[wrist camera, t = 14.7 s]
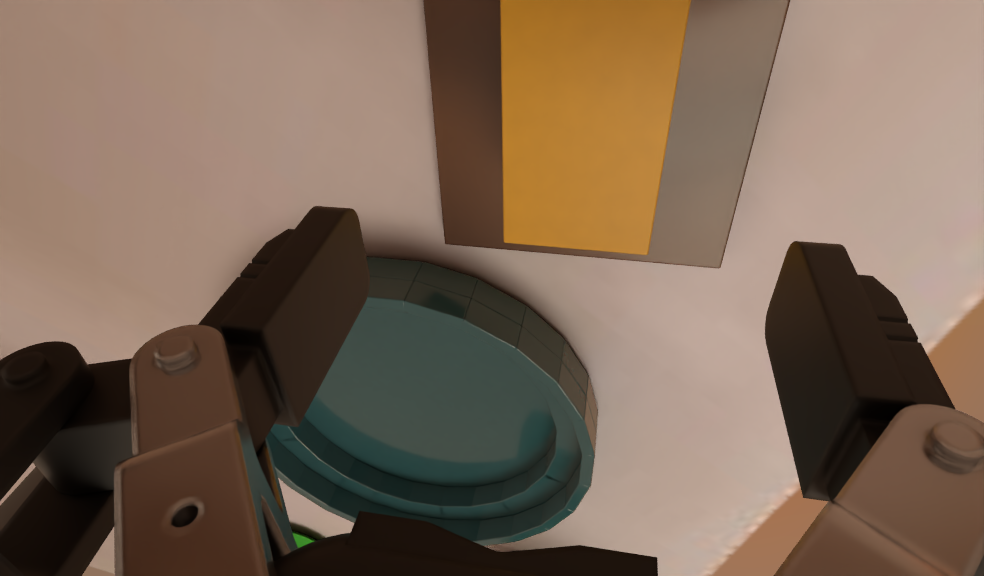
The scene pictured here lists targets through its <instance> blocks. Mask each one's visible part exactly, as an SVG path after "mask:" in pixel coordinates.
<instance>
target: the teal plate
mask: <svg viewBox="0 0 984 576" xmlns="http://www.w3.org/2000/svg"><path fill="white" fill-rule="evenodd" d="M366 258H367V263H368V268H369V275H370V285H369V292H368V296H367V299H366V302H365V304H364V306H363V308H362V310H361V311H360V313H359V315H358V317H357V319H356V321H355V323H354V324H353V326H352V328H351V330H350V332H349V334H348V336H347V337H346V339H345V341H344V343H343V345H342V347H341V349H340V350H339V352H338V354H337V356H336V358H335V360H334V362H333V363H332V365H331V367H330V369H329V371H328V373H327V375H326V377H325V378H324V380H323V382H322V384H321V386H320V388H319V390H318V391H317V393H316V395H315V397H314V399H313V401H312V403H311V404H310V406H309V408H308V410H307V412H306V414H305V416H304V417H303V419H302V421H301V423H300V425H299V427H293V426H286V425H279V424H274V425H273V427H272V428H271V430H270V432H269V434H268V435H267V437H266V438H267V441H268V443H269V445H270V449H271V453H272V457H273V460H274V464H275V468H276V472H277V476H278V478H279V479H281V480H282V481H283V482H284V483H285V484H286V485H287V486H289V487H290V488H291V489H293V490H295V491H296V492H298V493H299V494H301V495H303V496H304V497H306V498H307V499H309V500H311V501H312V502H314V503H315V504H317V505H318V506H320V507H322V508H323V509H325V510H327V511H329V512H331V513H334V514H336V515H338V516H340V517H342V518H345V519H347V520H349V521H351V522H353V523H355V521H356V518H357V516H358V513H359V511H364V512H371V513H377V514H383V515H390V516H396V517H402V518H409V519H415V520H421V521H428V522H430V523H433V524H435V525H437V526H439V527H442V528H444V529H446V530H448V531H451V532H453V533H455V534H457V535H460V536H462V537H464V538H466V539H469V540H471V541H473V542H475V543H478V544H480V545H482V546H488V545H495V544H502V543H510V542H516V541H519V540H522V539H525V538H528V537H531V536H533V535H536V534H539V533H542V532H544V531H547V530H550V529H551V528H552V527H554V526H555V525H556V524H558V523H559V522H561V521H562V520H563V519H565V518H566V517H567V516H569V515H570V514H572V513H573V512H574V511H575V510H576V508H577V506H578V505H579V503H580V502H581V500H582V499H583V497H584V496H585V494H586V492H587V491H588V489H589V488H590V486H591V481H592V473H593V466H594V458H595V446H596V432H597V418H598V409H597V405H596V401H595V398H594V394H593V390H592V386H591V383H590V379H589V376H588V374H587V373H586V371H585V370H584V368H583V367H582V365H581V364H580V362H579V361H578V359H577V358H576V356H575V355H574V353H573V352H572V350H571V349H570V347H569V346H568V344H567V343H566V341H565V340H564V338H563V337H562V336H560V335H559V334H558V333H557V332H556V331H555V330H554V329H553V328H551V327H550V326H549V325H548V324H547V323H546V322H545V321H544V320H542V319H541V318H540V317H539V316H538V315H537V314H536V313H535V312H533V311H532V310H531V309H530V308H529V307H528V306H526V305H524V304H523V303H521V302H519V301H517V300H515V299H514V298H512V297H510V296H508V295H506V294H505V293H503V292H501V291H499V290H497V289H496V288H494V287H492V286H490V285H488V284H487V283H485V282H483V281H481V280H479V279H478V280H477V278H475V277H472V276H468V275H465V274H462V273H459V272H456V271H452V270H449V269H446V268H443V267H439V266H436V265H433V264H430V263H427V262H420V261H410V260H399V259H389V258H378V257H366Z"/></svg>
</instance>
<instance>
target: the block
mask: <svg viewBox="0 0 984 576" xmlns="http://www.w3.org/2000/svg"><path fill="white" fill-rule="evenodd" d="M690 3H691V0H500V19H501V92H502V165H503V237H504V242H505V243H514V244H526V245H537V246H548V247H560V248H571V249H582V250H594V251H605V252H616V253H627V254H639V255H648V253H649V247H650V241H651V235H652V229H653V223H654V217H655V211H656V205H657V199H658V194H659V188H660V182H661V176H662V170H663V164H664V158H665V152H666V146H667V140H668V134H669V128H670V122H671V116H672V110H673V104H674V99H675V93H676V87H677V81H678V75H679V69H680V63H681V57H682V51H683V45H684V39H685V33H686V27H687V21H688V15H689V9H690Z"/></svg>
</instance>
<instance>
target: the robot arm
mask: <svg viewBox="0 0 984 576" xmlns="http://www.w3.org/2000/svg"><path fill="white" fill-rule="evenodd" d="M369 285H370V275H369V268H368V263H367V258H366V253H365V248H364V243H363V238H362V233H361V229H360V224H359V219H358V216H357V214H356V212H355V211H354V210H353V209H350V208H336V207H322V206H315V207H313V208H312V209H311V210H310V211H309V212H308V213H307V215H306V216H305V217H304V218H303V220H302V221H301V222H300V223H299V225H298V226H297V227H296V228H295V230H294V229H287V230H286V231H284V232H283V233H281V234H280V235H278V236H276V237H275V238H273V239H272V240H270V241H269V242H267V243H266V244H265V245H264V246H263V247H262V249H261V250H260V251H259V252H258V253H257V255H256V256H255V257H254V258H253V259H252V263H249V264H248V265H247V266H246V268H245V269H244V270H243V271H242V272H241V277H237V278H236V280H235V281H234V282H233V283H232V284H231V286H230V287H229V288H228V289H227V290H226V292H225V293H224V294H223V295H222V296H221V298H220V299H219V300H218V301H217V302H216V304H215V305H214V306H213V307H212V308H211V310H210V311H209V312H208V313H207V314H206V316H205V317H204V318H203V319H202V320H201V322H200V323H199V324H198V325H186V326H181V327H177V328H173V329H171V330H168V331H165V332H163V333H161V334H159V335H157V336H155V337H154V338H152V339H151V340H149V341H148V342H146V343H145V344H144V345H143V346H142V347H141V348H140V349H139V350H138V351H137V352H136V353H135V355H134V357H133V358H132V359H125V360H118V361H110V362H103V363H95V364H88V365H87V363H86V362H85V360H84V359H83V357H82V356H81V354H80V352H79V351H78V350H77V348H76V347H75V346H73V345H72V344H69V343H66V342H44V343H39V344H35V345H32V346H29V347H26V348H23V349H21V350H18V351H16V352H14V353H12V354H10V355H8V356H7V357H5V358H3V359H2V360H0V500H1V499H2V498H3V497H4V496H5V495H6V493H7V492H8V491H9V490H10V489H11V487H12V486H13V485H14V484H15V483H16V481H17V480H18V479H19V478H20V477H21V475H22V474H23V473H24V472H25V471H26V470H27V468H28V467H29V466H30V465H31V464H32V462H33V463H34V464H35V466H36V467H37V468H38V469H39V470H40V471H41V473H42V474H43V475H44V477H43V479H42V480H41V481H40V482H39V484H38V485H37V486H36V487H35V489H34V490H33V491H32V492H31V494H30V495H29V496H28V497H27V498H26V500H25V501H24V502H23V503H22V505H21V506H20V507H19V508H18V510H17V511H16V512H15V513H14V515H13V516H12V517H11V518H10V520H9V521H8V522H7V523H6V525H5V526H4V527H3V528H2V530H1V531H0V576H82V574H83V573H84V571H85V570H86V568H87V567H88V565H89V564H90V562H91V561H92V559H93V558H94V556H95V555H96V553H97V552H98V550H99V548H100V547H101V545H102V544H103V542H104V541H105V539H106V538H107V536H108V535H109V533H110V532H111V530H112V529H113V527H114V545H115V576H658V568H657V557H651V556H644V555H638V554H631V553H625V552H619V551H612V550H606V549H600V548H593V547H587V546H581V545H578V546H567V547H556V548H545V549H535V550H524V551H513V552H498V551H494V550H491V549H489V548H487V547H484V546H482V545H480V544H478V543H475V542H473V541H471V540H469V539H466V538H464V537H462V536H460V535H457V534H455V533H453V532H451V531H448V530H446V529H444V528H442V527H439V526H437V525H435V524H433V523H430V522H428V521H421V520H415V519H409V518H402V517H396V516H390V515H383V514H377V513H371V512H364V511H359V513H358V516H357V518H356V521H355V523H354V526H353V529H352V531H351V533H346V534H340V535H336V536H331V537H327V538H323V539H320V540H317V541H315V542H312V543H309V544H306V545H304V546H302V547H300V548H298V547H297V544H296V542H295V539H294V536H293V533H292V529H291V526H290V522H289V519H288V515H287V511H286V507H285V503H284V499H283V495H282V491H281V488H280V484H279V480H278V476H277V472H276V468H275V464H274V460H273V457H272V453H271V449H270V445H269V443H268V441H267V438H266V437H267V435H268V434H269V432H270V430H271V428H272V427H273V425H274V424H279V425H286V426H293V427H299V425H300V423H301V421H302V419H303V417H304V416H305V414H306V412H307V410H308V408H309V406H310V404H311V403H312V401H313V399H314V397H315V395H316V393H317V391H318V390H319V388H320V386H321V384H322V382H323V380H324V378H325V377H326V375H327V373H328V371H329V369H330V367H331V365H332V363H333V362H334V360H335V358H336V356H337V354H338V352H339V350H340V349H341V347H342V345H343V343H344V341H345V339H346V337H347V336H348V334H349V332H350V330H351V328H352V326H353V324H354V323H355V321H356V319H357V317H358V315H359V313H360V311H361V310H362V308H363V306H364V304H365V302H366V299H367V296H368V292H369ZM765 339H766V345H767V349H768V353H769V357H770V361H771V366H772V370H773V374H774V378H775V382H776V386H777V390H778V395H779V399H780V403H781V407H782V411H783V415H784V420H785V424H786V428H787V432H788V436H789V440H790V444H791V449H792V453H793V457H794V461H795V465H796V469H797V474H798V478H799V482H800V486H801V490H802V494H803V498H809V499H816V500H823V501H829V502H828V503H827V504H826V506H825V507H824V508H823V509H822V511H821V512H820V513H819V515H818V516H817V517H816V519H815V520H814V522H813V523H812V524H811V526H810V527H809V528H808V530H807V531H806V532H805V534H804V535H803V536H802V538H801V539H800V541H799V542H798V544H797V545H796V546H795V547H794V549H793V550H792V552H791V553H790V554H789V555H788V557H787V558H786V560H785V561H784V562H783V564H782V565H781V566H780V568H779V569H778V571H777V572H776V573H775V575H774V576H984V423H983V422H981V421H979V420H978V419H976V418H974V417H972V416H970V415H968V414H966V413H963V412H961V411H958V410H956V409H955V407H954V405H953V404H952V402H951V400H950V398H949V396H948V394H947V392H946V390H945V388H944V387H943V385H942V383H941V381H940V379H939V377H938V375H937V373H936V371H935V369H934V367H933V366H932V364H931V362H930V360H929V358H928V356H927V354H926V352H925V350H924V348H923V346H922V344H921V343H918V341H917V340H918V337H917V335H916V333H915V331H914V329H913V327H912V325H911V324H908V318H907V316H906V314H905V312H904V310H903V308H902V306H901V305H900V303H899V301H898V299H897V297H896V296H895V295H894V294H893V293H892V292H890V291H889V290H888V289H887V288H886V287H885V286H884V285H882V284H881V283H880V282H879V281H878V280H877V279H875V278H874V277H873V276H866V275H857V272H856V270H855V268H854V266H853V264H852V262H851V260H850V258H849V255H848V253H847V251H846V249H845V247H844V246H843V245H841V244H827V243H813V242H799V241H794V242H793V243H792V244H791V245H790V247H789V249H788V251H787V253H786V256H785V259H784V262H783V265H782V268H781V271H780V274H779V277H778V280H777V283H776V286H775V289H774V292H773V295H772V298H771V301H770V304H769V307H768V311H767V316H766V323H765Z"/></svg>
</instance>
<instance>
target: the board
mask: <svg viewBox="0 0 984 576" xmlns="http://www.w3.org/2000/svg"><path fill="white" fill-rule="evenodd" d="M789 3H790V0H691V3H690V9H689V15H688V21H687V27H686V33H685V39H684V45H683V51H682V57H681V63H680V69H679V75H678V81H677V87H676V93H675V99H674V104H673V110H672V116H671V122H670V128H669V134H668V140H667V146H666V152H665V158H664V164H663V170H662V176H661V182H660V188H659V194H658V199H657V205H656V211H655V217H654V223H653V229H652V235H651V241H650V247H649V253H648V255H639V254H627V253H616V252H605V251H594V250H582V249H571V248H560V247H548V246H537V245H526V244H514V243H505V242H504V237H503V165H502V92H501V19H500V0H424V11H425V22H426V34H427V45H428V56H429V68H430V79H431V90H432V101H433V113H434V124H435V135H436V147H437V158H438V169H439V180H440V192H441V203H442V214H443V226H444V237H445V244H451V245H462V246H473V247H484V248H496V249H507V250H518V251H529V252H541V253H552V254H563V255H574V256H586V257H597V258H608V259H620V260H631V261H642V262H653V263H665V264H676V265H687V266H698V267H710V268H720V267H721V263H722V260H723V256H724V252H725V248H726V244H727V240H728V237H729V233H730V229H731V225H732V221H733V217H734V214H735V210H736V206H737V202H738V198H739V194H740V191H741V187H742V183H743V179H744V175H745V171H746V168H747V164H748V160H749V156H750V152H751V149H752V145H753V141H754V137H755V133H756V129H757V126H758V122H759V118H760V114H761V110H762V106H763V103H764V99H765V95H766V91H767V87H768V83H769V80H770V76H771V72H772V68H773V64H774V60H775V57H776V53H777V49H778V45H779V41H780V37H781V34H782V30H783V26H784V22H785V18H786V14H787V11H788V7H789Z"/></svg>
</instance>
